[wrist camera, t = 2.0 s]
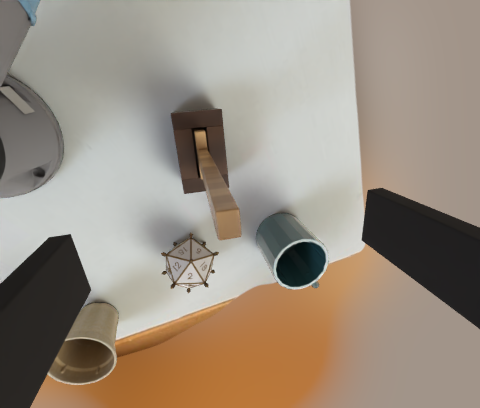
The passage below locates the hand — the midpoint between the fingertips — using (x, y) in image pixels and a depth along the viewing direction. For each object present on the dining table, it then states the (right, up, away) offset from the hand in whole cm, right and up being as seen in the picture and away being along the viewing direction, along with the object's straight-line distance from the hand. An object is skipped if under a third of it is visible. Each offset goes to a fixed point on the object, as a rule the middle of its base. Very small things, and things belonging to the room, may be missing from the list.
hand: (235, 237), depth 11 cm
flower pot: (-24, -18, +32) cm, 44 cm away
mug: (+8, -5, +34) cm, 36 cm away
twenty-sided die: (-8, -6, +31) cm, 33 cm away
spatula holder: (-6, +10, +26) cm, 28 cm away
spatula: (-6, +10, +25) cm, 27 cm away
